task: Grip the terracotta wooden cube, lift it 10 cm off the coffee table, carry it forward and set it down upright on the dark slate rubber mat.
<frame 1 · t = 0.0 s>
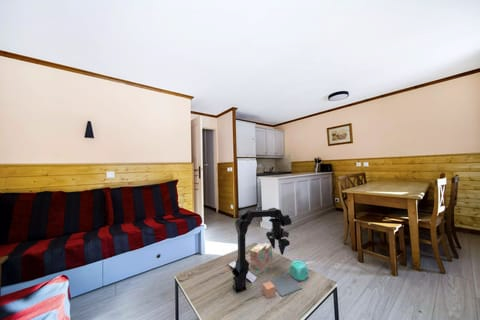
hand: (277, 251, 115), 15 cm above the table, fingers open, 9 cm apart
slate mat: (284, 285, 104), on the table
terracotta cube: (269, 294, 98), on the table
decorative dice: (299, 277, 111), on the table
stack of blocks: (262, 261, 130), on the table
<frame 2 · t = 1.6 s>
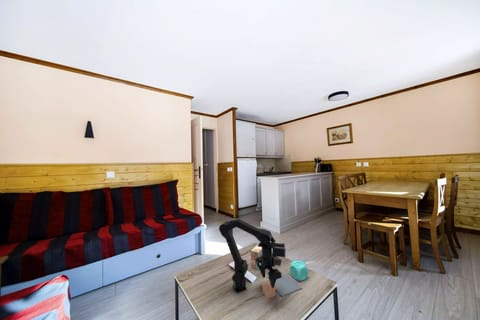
hand: (268, 282, 98), 6 cm above the table, fingers open, 9 cm apart
nothing on the table moved.
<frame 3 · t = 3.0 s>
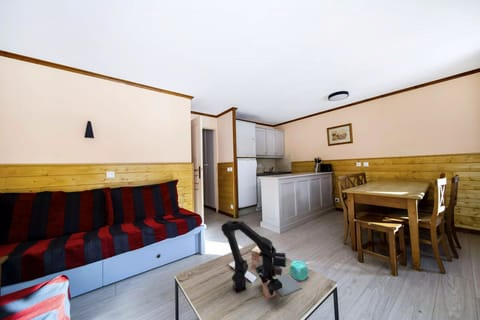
hand: (269, 292, 98), 1 cm above the table, fingers closed on terracotta cube, 5 cm apart
terracotta cube: (269, 294, 98), on the table, touching gripper
everything else where it was.
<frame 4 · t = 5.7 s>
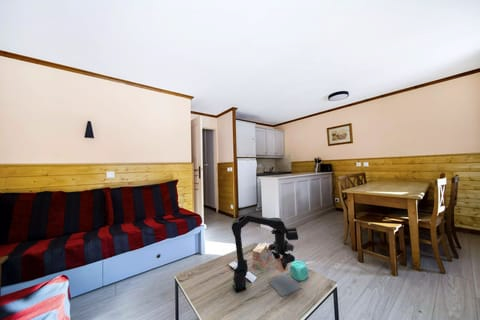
hand: (281, 267, 103), 11 cm above the table, fingers closed on terracotta cube, 5 cm apart
terracotta cube: (281, 268, 103), point 10 cm above the table, touching gripper
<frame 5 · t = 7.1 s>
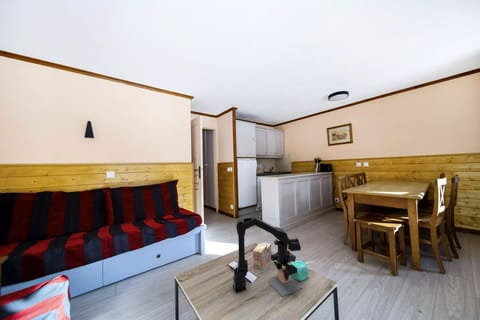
hand: (283, 277, 104), 4 cm above the table, fingers closed on terracotta cube, 5 cm apart
terracotta cube: (283, 279, 104), point 3 cm above the table, touching gripper
when the fingers open (3 cm above the table, at t = 8.2 s): terracotta cube drops 1 cm, resting on slate mat.
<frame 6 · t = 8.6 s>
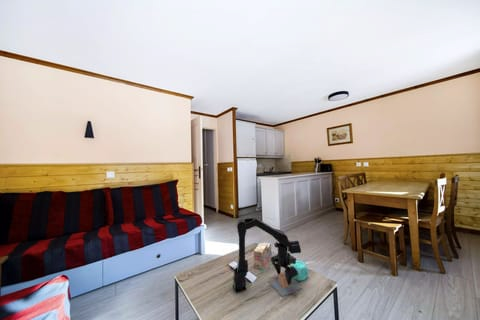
hand: (284, 279, 104), 3 cm above the table, fingers open, 9 cm apart
terracotta cube: (284, 284, 104), point 1 cm above the table, touching slate mat
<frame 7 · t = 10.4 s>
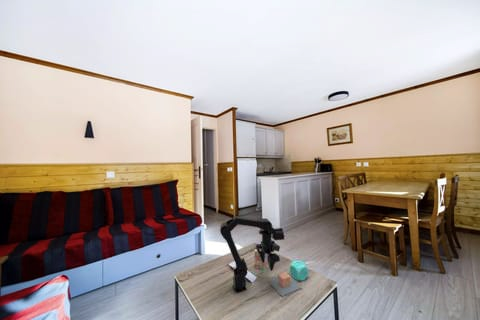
hand: (267, 266, 106), 11 cm above the table, fingers open, 9 cm apart
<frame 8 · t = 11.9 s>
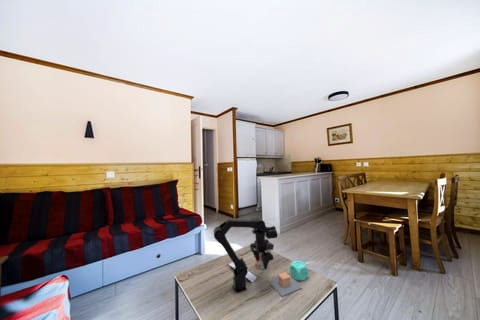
hand: (261, 265, 107), 11 cm above the table, fingers open, 9 cm apart
at the end: terracotta cube inside the target area on the slate mat (0.0 cm from its centre), point 0.6 cm above the slate mat's base; terracotta cube tilted 0°; the gripper is holding nothing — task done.
